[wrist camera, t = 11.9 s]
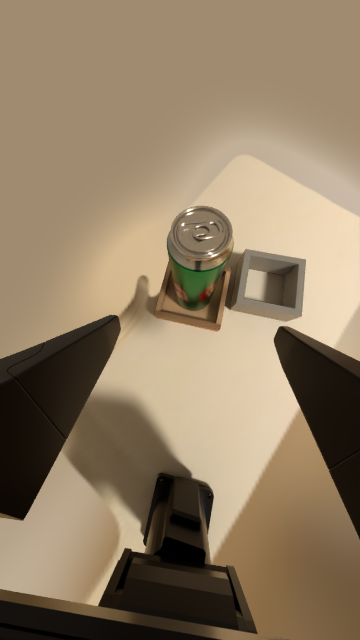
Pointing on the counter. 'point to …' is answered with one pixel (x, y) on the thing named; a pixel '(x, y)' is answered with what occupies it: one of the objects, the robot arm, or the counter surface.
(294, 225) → the counter surface
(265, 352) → the counter surface
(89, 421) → the counter surface
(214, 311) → the walnut tray
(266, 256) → the box
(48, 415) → the robot arm
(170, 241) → the soda can
